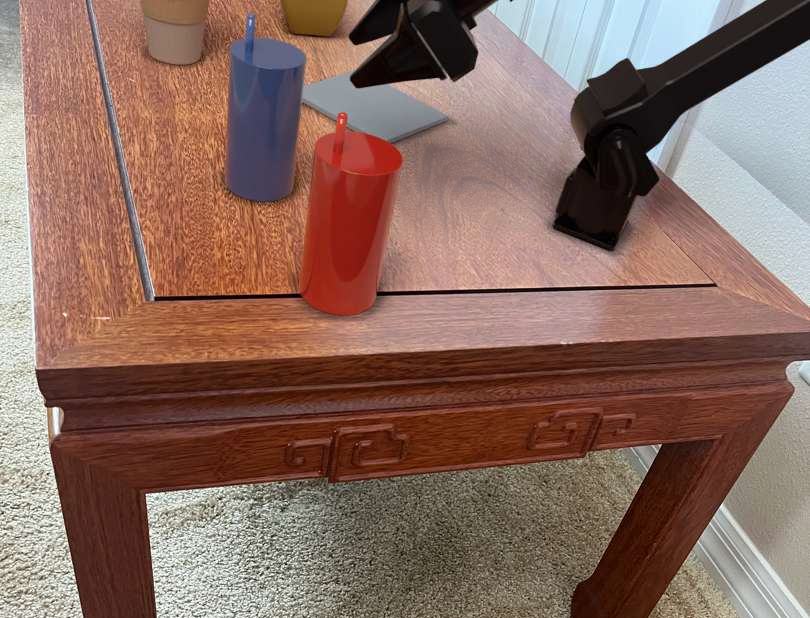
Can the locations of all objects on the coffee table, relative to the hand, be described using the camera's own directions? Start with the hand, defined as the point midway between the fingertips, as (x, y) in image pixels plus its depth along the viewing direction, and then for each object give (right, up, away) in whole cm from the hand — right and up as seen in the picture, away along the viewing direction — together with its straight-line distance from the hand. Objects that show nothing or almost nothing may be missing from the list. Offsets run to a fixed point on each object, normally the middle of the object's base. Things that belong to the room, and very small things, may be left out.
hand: (351, 60), depth 70 cm
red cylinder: (-1, -20, -3) cm, 20 cm away
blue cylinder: (-9, -9, +7) cm, 15 cm away
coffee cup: (-22, +10, +25) cm, 35 cm away
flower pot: (-8, +19, +38) cm, 44 cm away
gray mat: (0, +4, +24) cm, 24 cm away
